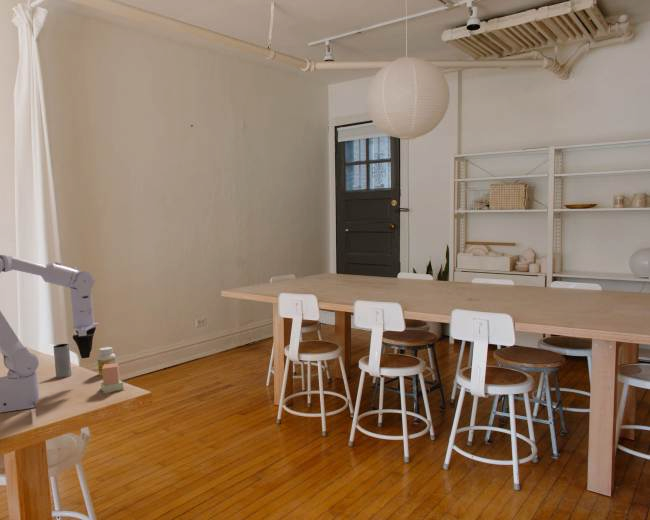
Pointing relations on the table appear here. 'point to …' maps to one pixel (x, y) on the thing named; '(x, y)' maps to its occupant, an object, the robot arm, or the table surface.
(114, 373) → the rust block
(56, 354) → the grey cylinder
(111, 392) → the base block
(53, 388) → the table surface
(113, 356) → the supplement bottle
